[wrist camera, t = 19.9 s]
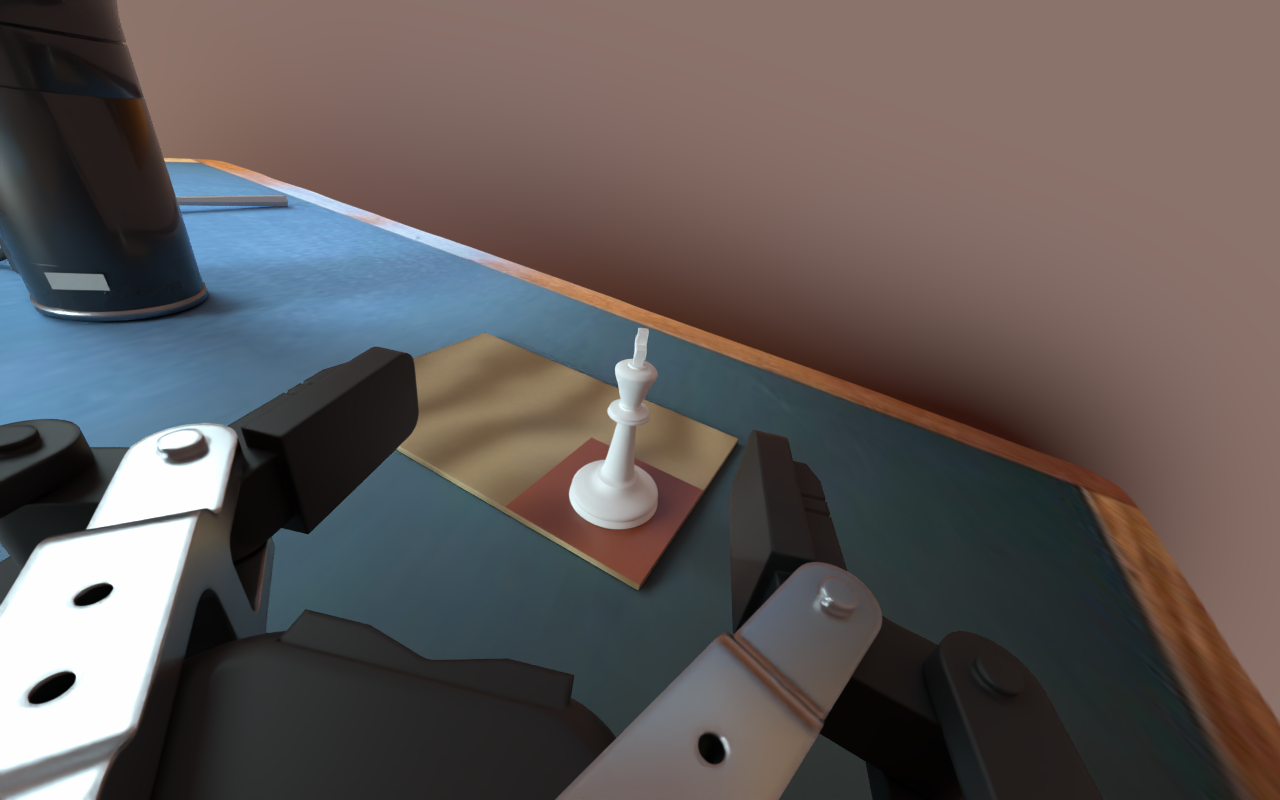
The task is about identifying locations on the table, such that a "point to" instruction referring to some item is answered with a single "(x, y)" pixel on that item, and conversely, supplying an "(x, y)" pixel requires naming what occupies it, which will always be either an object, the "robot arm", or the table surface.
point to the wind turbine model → (234, 200)
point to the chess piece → (621, 455)
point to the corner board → (554, 447)
